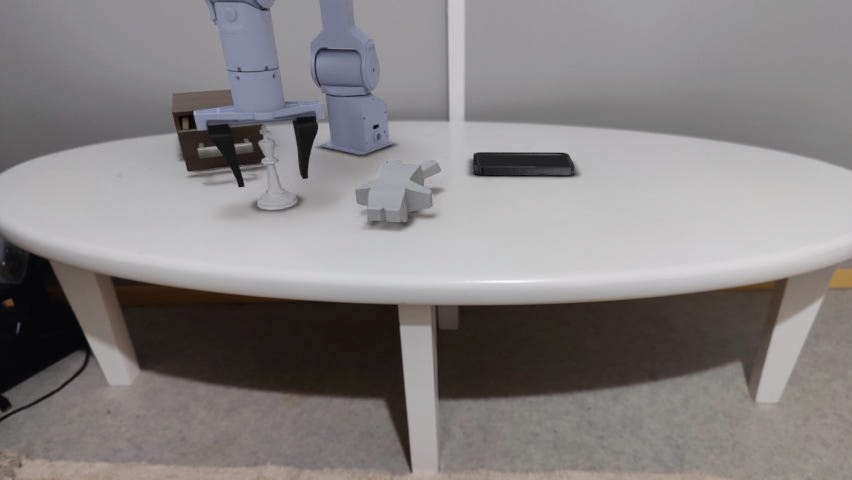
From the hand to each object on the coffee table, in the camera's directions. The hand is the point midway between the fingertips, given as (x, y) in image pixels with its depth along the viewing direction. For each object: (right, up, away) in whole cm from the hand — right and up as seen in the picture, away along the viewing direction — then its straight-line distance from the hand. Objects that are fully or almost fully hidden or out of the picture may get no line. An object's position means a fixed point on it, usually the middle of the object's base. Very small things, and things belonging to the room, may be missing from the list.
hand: (273, 180), depth 71 cm
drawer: (-13, +6, +15) cm, 21 cm away
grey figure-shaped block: (+16, -3, +1) cm, 16 cm away
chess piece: (0, -3, +2) cm, 3 cm away
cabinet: (-18, +11, +26) cm, 33 cm away
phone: (+33, +4, +15) cm, 36 cm away
